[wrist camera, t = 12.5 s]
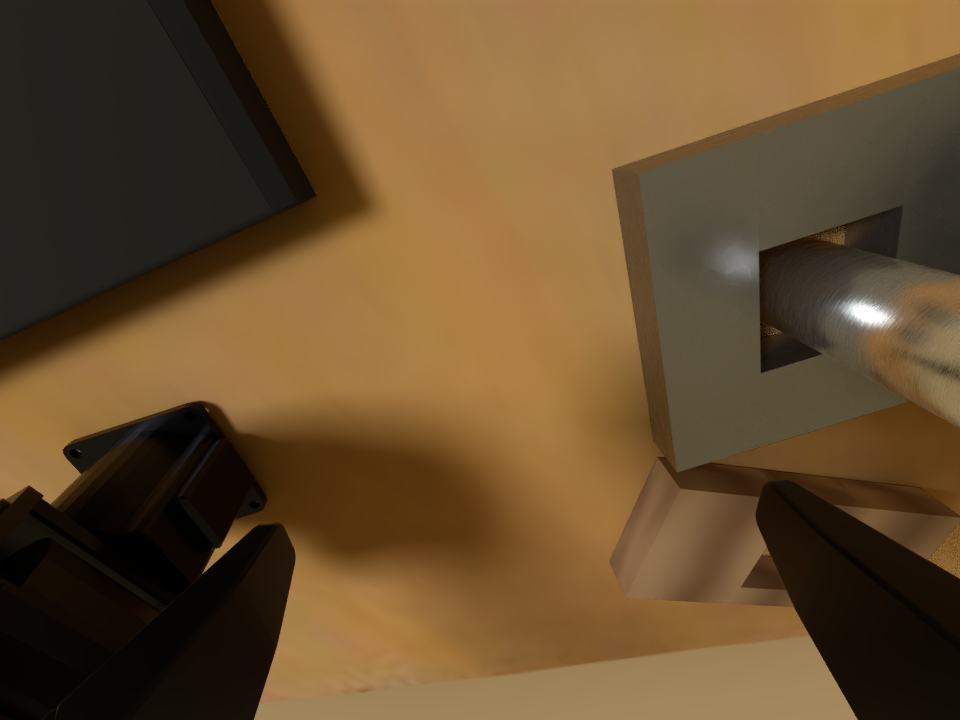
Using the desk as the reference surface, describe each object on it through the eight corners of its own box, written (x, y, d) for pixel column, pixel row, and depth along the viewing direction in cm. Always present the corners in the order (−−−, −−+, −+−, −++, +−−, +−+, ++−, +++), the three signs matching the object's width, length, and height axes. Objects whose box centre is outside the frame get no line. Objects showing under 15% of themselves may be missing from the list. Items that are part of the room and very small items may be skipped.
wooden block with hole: (609, 561, 28) (625, 598, 26) (657, 457, 25) (680, 488, 22) (850, 577, 31) (882, 611, 29) (920, 488, 28) (963, 518, 26)
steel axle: (765, 335, 22) (1144, 555, 10) (723, 281, 21) (1111, 467, 9) (839, 276, 21) (1349, 446, 9) (800, 214, 20) (1349, 326, 8)
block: (653, 441, 24) (676, 472, 22) (612, 169, 18) (638, 173, 16) (913, 361, 24) (964, 384, 21) (964, 52, 17) (1043, 39, 15)
